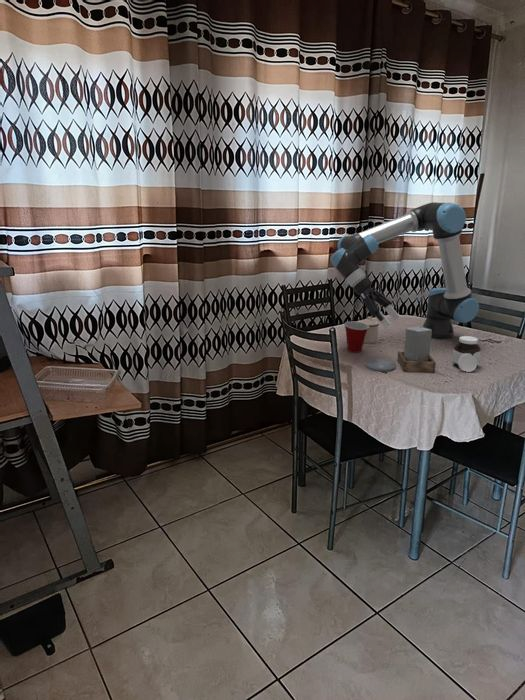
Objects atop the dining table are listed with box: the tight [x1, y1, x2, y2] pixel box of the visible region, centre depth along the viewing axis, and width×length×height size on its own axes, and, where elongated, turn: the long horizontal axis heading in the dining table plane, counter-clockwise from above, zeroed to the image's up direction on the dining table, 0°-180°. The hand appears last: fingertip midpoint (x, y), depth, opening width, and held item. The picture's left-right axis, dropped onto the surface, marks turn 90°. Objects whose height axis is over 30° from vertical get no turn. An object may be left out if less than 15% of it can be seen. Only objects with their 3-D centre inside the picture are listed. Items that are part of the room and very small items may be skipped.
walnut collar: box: [396, 351, 437, 373], centre depth 197 cm, size 12×13×4 cm
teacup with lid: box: [359, 316, 380, 344], centre depth 229 cm, size 12×9×12 cm
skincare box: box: [403, 326, 432, 362], centre depth 195 cm, size 8×7×16 cm
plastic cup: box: [344, 320, 369, 353], centre depth 215 cm, size 11×11×12 cm
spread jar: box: [451, 335, 482, 373], centre depth 195 cm, size 12×11×12 cm
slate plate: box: [365, 358, 397, 372], centre depth 197 cm, size 12×12×1 cm
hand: (393, 322), depth 197 cm, fingers open, 13 cm apart
